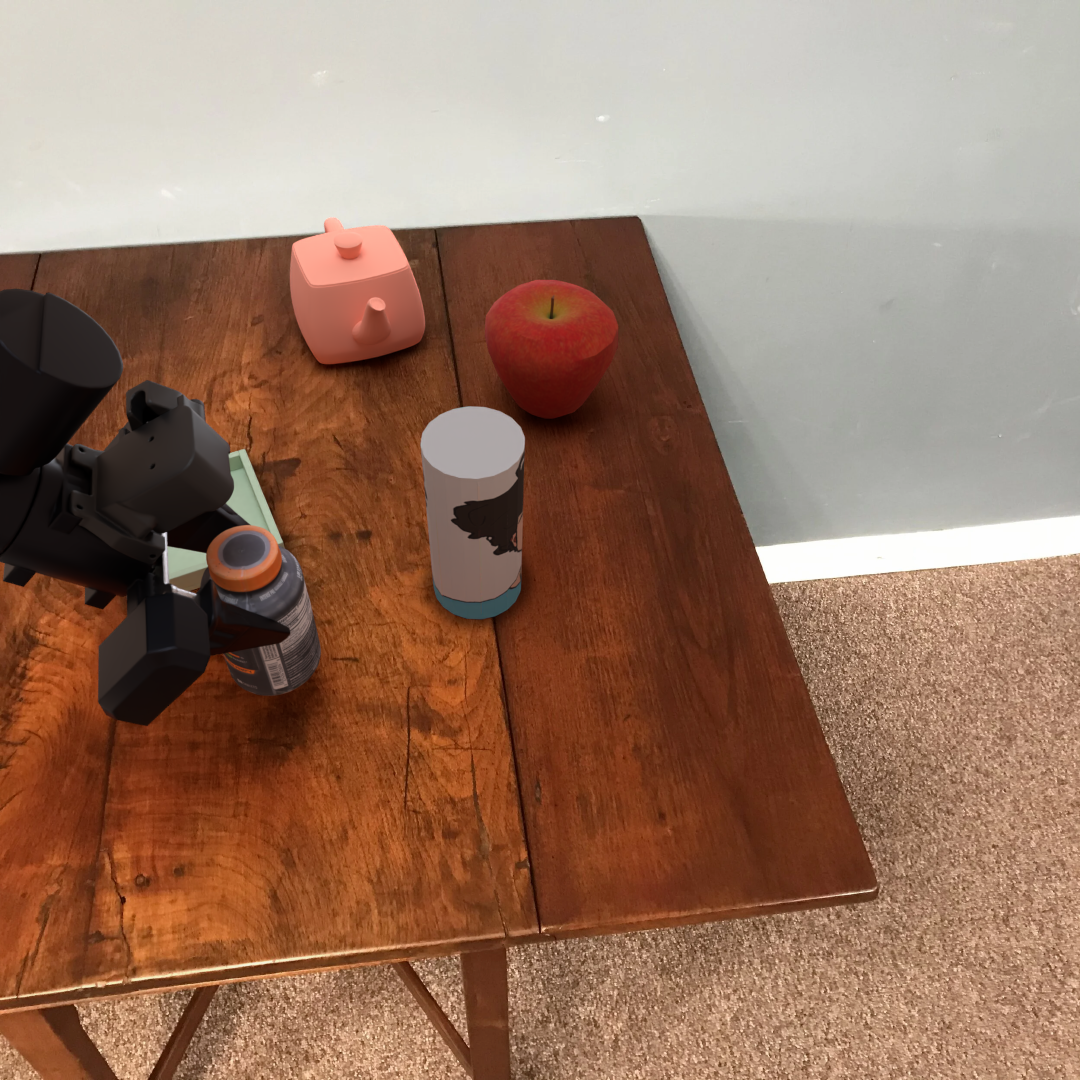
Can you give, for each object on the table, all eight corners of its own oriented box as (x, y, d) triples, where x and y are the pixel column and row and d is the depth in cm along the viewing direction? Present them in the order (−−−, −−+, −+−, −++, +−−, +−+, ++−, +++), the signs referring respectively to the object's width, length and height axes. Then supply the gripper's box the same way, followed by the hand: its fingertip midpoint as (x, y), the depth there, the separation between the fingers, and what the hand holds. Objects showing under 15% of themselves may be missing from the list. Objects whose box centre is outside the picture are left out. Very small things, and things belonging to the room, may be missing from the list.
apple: (632, 402, 86) (647, 290, 77) (558, 465, 80) (565, 353, 71) (538, 351, 90) (542, 240, 81) (463, 408, 85) (457, 295, 75)
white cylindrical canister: (535, 601, 71) (542, 460, 59) (452, 631, 69) (443, 491, 57) (500, 539, 75) (500, 395, 63) (420, 565, 73) (405, 422, 61)
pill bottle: (214, 649, 62) (170, 537, 53) (296, 608, 64) (267, 495, 56) (253, 715, 59) (212, 607, 50) (338, 669, 61) (313, 559, 52)
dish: (139, 607, 69) (131, 591, 68) (112, 506, 76) (104, 489, 74) (287, 558, 73) (283, 542, 71) (249, 465, 79) (244, 448, 78)
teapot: (393, 275, 98) (384, 182, 90) (450, 382, 87) (444, 286, 79) (283, 298, 94) (263, 203, 86) (328, 411, 84) (310, 314, 76)
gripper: (97, 549, 37) (395, 647, 48) (101, 281, 49) (340, 408, 59) (-35, 697, 41) (265, 756, 52) (-3, 419, 53) (238, 514, 64)
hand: (280, 595), depth 57 cm, fingers closed on pill bottle, 6 cm apart
